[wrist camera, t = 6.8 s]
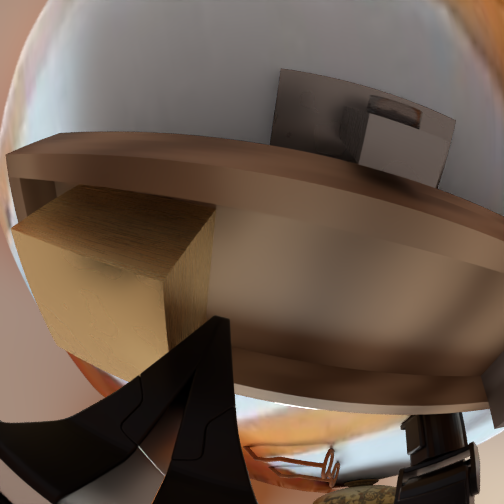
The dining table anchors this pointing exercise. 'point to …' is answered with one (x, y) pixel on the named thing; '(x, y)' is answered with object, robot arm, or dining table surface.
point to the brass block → (118, 273)
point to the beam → (317, 267)
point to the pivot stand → (360, 127)
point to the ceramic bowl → (360, 494)
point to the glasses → (314, 464)
